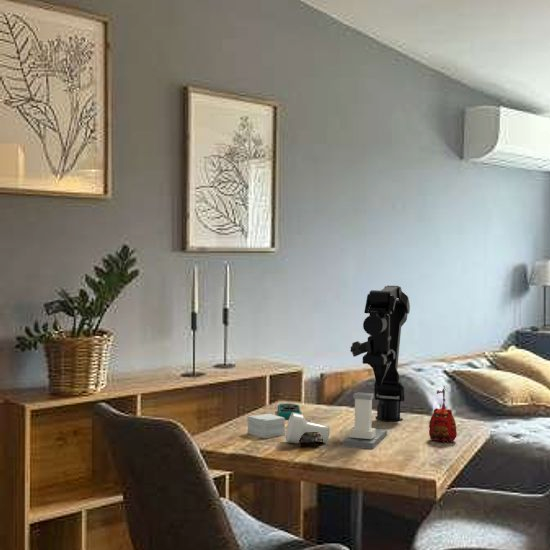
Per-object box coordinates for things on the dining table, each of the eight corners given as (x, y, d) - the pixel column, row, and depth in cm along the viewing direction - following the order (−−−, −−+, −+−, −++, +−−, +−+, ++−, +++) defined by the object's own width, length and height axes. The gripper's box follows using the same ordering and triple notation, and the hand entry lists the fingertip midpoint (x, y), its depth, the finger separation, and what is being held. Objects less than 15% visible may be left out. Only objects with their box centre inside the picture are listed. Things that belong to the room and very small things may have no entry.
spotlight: (282, 434, 220) (289, 407, 218) (322, 442, 221) (329, 415, 220) (285, 446, 212) (292, 418, 210) (326, 454, 213) (333, 427, 212)
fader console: (359, 432, 230) (359, 427, 230) (386, 435, 227) (386, 429, 227) (343, 446, 213) (343, 439, 213) (373, 448, 210) (373, 442, 210)
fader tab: (354, 433, 220) (355, 391, 219) (375, 435, 218) (376, 393, 217) (349, 437, 215) (350, 394, 215) (371, 439, 213) (372, 395, 213)
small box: (268, 430, 232) (268, 413, 232) (285, 435, 225) (285, 417, 225) (246, 433, 227) (246, 415, 227) (263, 438, 221) (263, 420, 220)
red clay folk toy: (426, 441, 220) (428, 387, 220) (431, 436, 227) (432, 384, 227) (454, 444, 218) (456, 389, 217) (458, 439, 224) (459, 386, 224)
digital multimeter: (299, 412, 263) (299, 403, 263) (301, 421, 248) (301, 411, 248) (277, 412, 263) (277, 403, 263) (278, 420, 248) (278, 411, 248)
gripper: (360, 329, 247) (359, 379, 247) (345, 333, 229) (344, 388, 229) (396, 331, 243) (395, 382, 243) (384, 335, 225) (382, 390, 225)
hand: (378, 385), depth 235 cm, fingers closed
